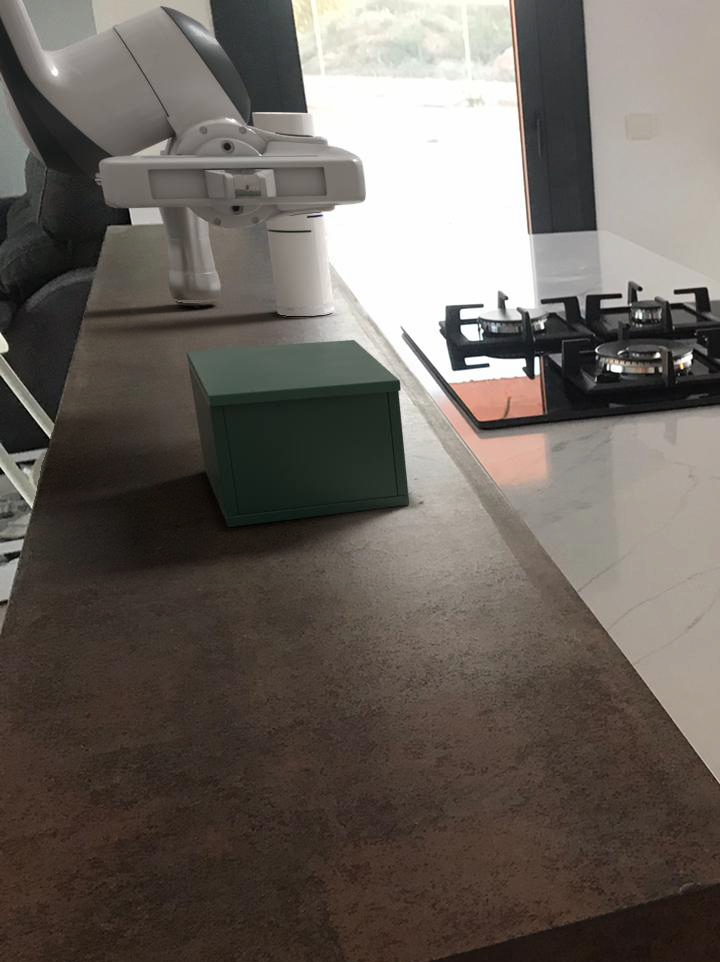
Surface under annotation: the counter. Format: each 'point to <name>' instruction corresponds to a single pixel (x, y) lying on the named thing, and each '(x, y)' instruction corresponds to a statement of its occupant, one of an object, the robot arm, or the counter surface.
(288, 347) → the lid
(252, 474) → the green open box
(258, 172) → the robot arm
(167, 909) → the counter surface
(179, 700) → the counter surface
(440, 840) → the counter surface
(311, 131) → the cylindrical container
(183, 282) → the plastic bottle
